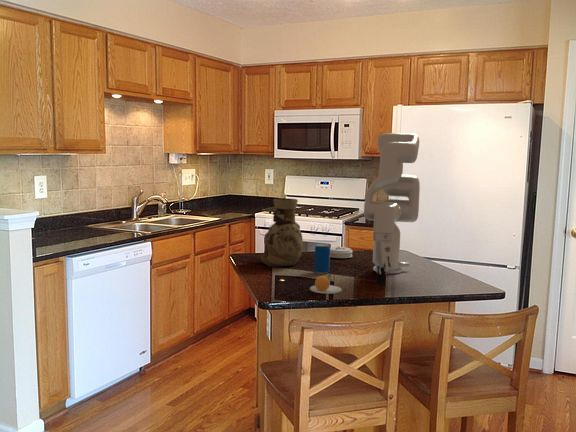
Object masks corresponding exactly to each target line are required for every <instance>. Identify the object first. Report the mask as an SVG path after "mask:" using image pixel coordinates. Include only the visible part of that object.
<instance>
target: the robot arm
mask: <svg viewBox="0 0 576 432" xmlns="http://www.w3.org/2000/svg"><path fill="white" fill-rule="evenodd" d="M419 137H420V136H419V135H418V134H416V133H412V132H411V133H409V132H407V133H406V132H404V133H402V132H388V133H387V132H385V133H381V134H380V135H378V138H377V148H378V151H379V155H380V156H379V167H378V175H377V178H376V179H375V180H374V181H373V182H372V183H371V184H370V185H369V187H368V188H367V190H366V192H365V196H364V204H363V215H364V218H365V220H368V221H373V227H372V228H373V233H372V237H373V238H372V241H373V246H372V247H373V249H372V263H373V264H374V266H373V267H372V270H373V271H374V272H376V281H375V282H376V285H378V286H379V285H386V284H387V280H386V279H387V275H388V274H389V275H392V274H393V275H394V274H400V273H402V272H403V268H405V267H406V268H409V267H410V262H407V261H406V262H404V261H401V260H400V248H401V230H400V228H399V226H398V225H397V224H396V223H414V222H416V221H417V220H418V219H419V218H418V217H419V212H420V211H419V210H420V190H421V187H420V186H421V185H420V183H421V182H420V179H419V177H417V176H416V175H413V174H404V173H403V171H404V164H414V163H416V161H417V160H418V155H419V148H420V138H419ZM380 190H382V193H383V195H385V196H388V197H398V198H399V197H401V198H407V199H405V200H404V199H393V198H392V199H391V198H387V199H382V200H380V201H373V199H374V195H375V194H376V193H377V192H379V191H380Z"/></svg>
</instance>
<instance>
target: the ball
mask: <svg viewBox="0 0 576 432" xmlns="http://www.w3.org/2000/svg"><path fill="white" fill-rule="evenodd" d="M330 283H331V282H330V280H329V278H328V277H327V276H325V275H321V276H318V277H316V279H315V281H314V286H316V288H317V289H318V290H320V291H325V290H327V289H328V288H329V285H331V284H330Z"/></svg>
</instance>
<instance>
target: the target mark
mask: <svg viewBox="0 0 576 432" xmlns="http://www.w3.org/2000/svg"><path fill="white" fill-rule="evenodd" d="M309 290H310V291H311V292H314V293H317V294H324V295H326V294H327V295H329V294H330V295H333V294H338V293H341V292H342V291H343V289H342V288H341V287H340V286H336V285H332V284H330V285H329V288H328V289H327V290H325V291H320V290H318V289H317V288H316V286H315V285H312V286H310V287H309Z"/></svg>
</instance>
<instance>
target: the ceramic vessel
mask: <svg viewBox="0 0 576 432" xmlns="http://www.w3.org/2000/svg"><path fill="white" fill-rule="evenodd" d="M298 202H299V201H298V199H296V198H275V199H273V205H274V208H275V211H273V212H272V215H273V216H272V218H273V220H272V221H273V222H274V223H273V224H272V225H271V226H270V227H269V228H268V230H267V232H266V233H265V235H264V236H263V238H264V239H263V243H264V245H265V247H264V251H263V253H262V254H261V257H260V261H261V263H262V264H264V265H267V267H269V268H283V267H292V266H295V265H296V264H297V263H298V261H299V259H300V258H301V255H302V253H303V241H304V240H303V239H304V238H303V234H302V231H301V227H300V224H299V223H298V222H297V221H296V209H297V206H298Z"/></svg>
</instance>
